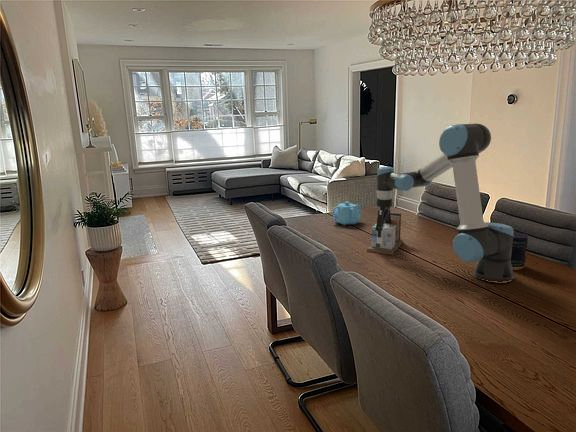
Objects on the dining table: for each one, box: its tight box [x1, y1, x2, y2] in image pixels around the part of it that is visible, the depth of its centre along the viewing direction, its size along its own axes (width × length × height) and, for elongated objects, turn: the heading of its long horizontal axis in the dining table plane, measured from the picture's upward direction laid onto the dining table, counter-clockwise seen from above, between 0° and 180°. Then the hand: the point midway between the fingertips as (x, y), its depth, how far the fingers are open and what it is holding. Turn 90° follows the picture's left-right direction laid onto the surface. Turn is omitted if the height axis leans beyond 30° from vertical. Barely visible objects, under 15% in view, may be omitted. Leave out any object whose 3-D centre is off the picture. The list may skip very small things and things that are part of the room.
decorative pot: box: [331, 201, 362, 226], centre depth 275 cm, size 16×16×14 cm
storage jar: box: [511, 231, 529, 267], centre depth 197 cm, size 10×10×15 cm
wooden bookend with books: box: [366, 212, 404, 256], centre depth 228 cm, size 22×13×16 cm, turn 153°
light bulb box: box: [370, 223, 396, 249], centre depth 224 cm, size 11×7×11 cm, turn 63°
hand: (383, 239), depth 225 cm, fingers open, 13 cm apart
